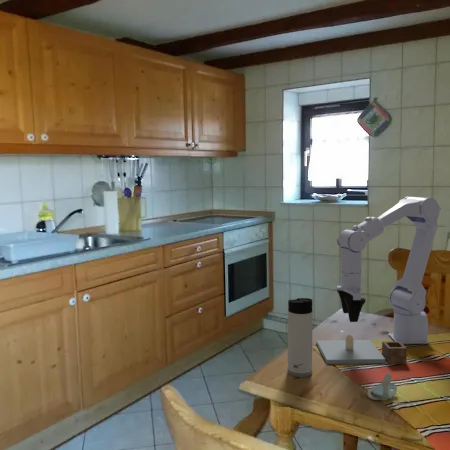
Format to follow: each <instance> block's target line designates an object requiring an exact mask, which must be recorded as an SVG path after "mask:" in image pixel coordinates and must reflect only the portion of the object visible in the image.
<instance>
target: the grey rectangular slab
mask: <svg viewBox="0 0 450 450" xmlns="http://www.w3.org/2000/svg"><path fill="white" fill-rule="evenodd" d="M316 346H317V348H318V350H319V351H320V354H321V355H322V358H323V359H324V361H325V363H326V365H337V364H338V365H341V364H342V365H343V364H344V365H348V364H349V365H350V364H357V365H358V364H387V362H386V359H385V358H384V356H383V355H382V352H380V350H379V349H378V348H377V347H376V346H375V344H374V343H373V342H372V340H371V339H354V337H353V336H352V335H350V334H349V335H346V336H345V339H342V340H341V339H340V340H339V339H338V340H337V339H334V340H329V339H328V340H316Z"/></svg>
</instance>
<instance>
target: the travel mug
mask: <svg viewBox="0 0 450 450" xmlns="http://www.w3.org/2000/svg"><path fill="white" fill-rule="evenodd" d="M287 303H288V304H287V305H288V306H287V307H288V308H287V309H288V310H287V372H288V374H290V375H291V376H293V377H297V378H306V377H309V376H311V375H312V373H313V315H314V314H313V311H314V310H313V299H312V298H308V297H306V298H305V297H297V298H295V299H289V300H288V302H287Z"/></svg>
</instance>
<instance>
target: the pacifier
mask: <svg viewBox="0 0 450 450" xmlns="http://www.w3.org/2000/svg"><path fill="white" fill-rule="evenodd" d="M392 379H393V378H392V374H391V373H390V372H388V371H387V372H386V373H385V374H384V378H383V379H382V382H380V383H378V384H377V385H375V386H374V387H372V388H370V389H369V390H368V391H367V396H368V398H369V399H370V400H374V401H387V400H390V399H393V396H395V395H396V394H397V391H398V387H397V385H396V384H395V383H394V382H392Z"/></svg>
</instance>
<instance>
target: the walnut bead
mask: <svg viewBox="0 0 450 450" xmlns="http://www.w3.org/2000/svg"><path fill="white" fill-rule="evenodd" d="M381 354H382V355H383V356H384V358H385V359H386V364H387V365H405V364H407V359H408V358H407V356H408V348H407V347H406V346H405V344H402V343H401V342H400V341H394V340H393V341H392V340H388V341H384V340H383V341H381Z"/></svg>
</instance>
